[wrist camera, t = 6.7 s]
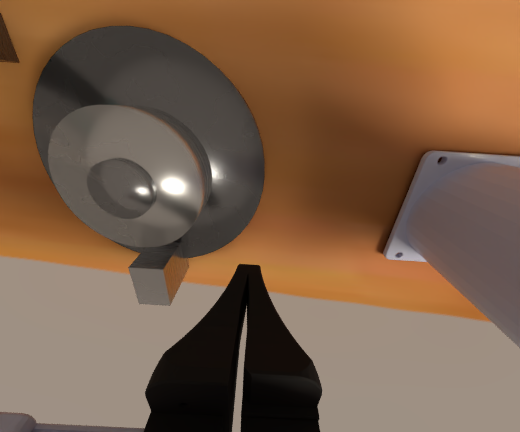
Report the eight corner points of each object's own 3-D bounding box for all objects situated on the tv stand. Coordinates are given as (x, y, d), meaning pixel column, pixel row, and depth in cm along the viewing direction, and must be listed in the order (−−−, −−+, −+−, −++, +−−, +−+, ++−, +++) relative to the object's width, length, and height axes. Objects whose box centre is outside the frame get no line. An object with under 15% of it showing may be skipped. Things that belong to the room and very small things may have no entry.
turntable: (273, 42, 10) (277, 8, 7) (257, 271, 17) (255, 310, 13) (4, 23, 10) (-125, -20, 7) (95, 261, 17) (53, 298, 13)
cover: (210, 112, 11) (190, 112, 8) (213, 228, 14) (200, 259, 11) (74, 99, 11) (3, 95, 8) (108, 220, 14) (67, 248, 11)
